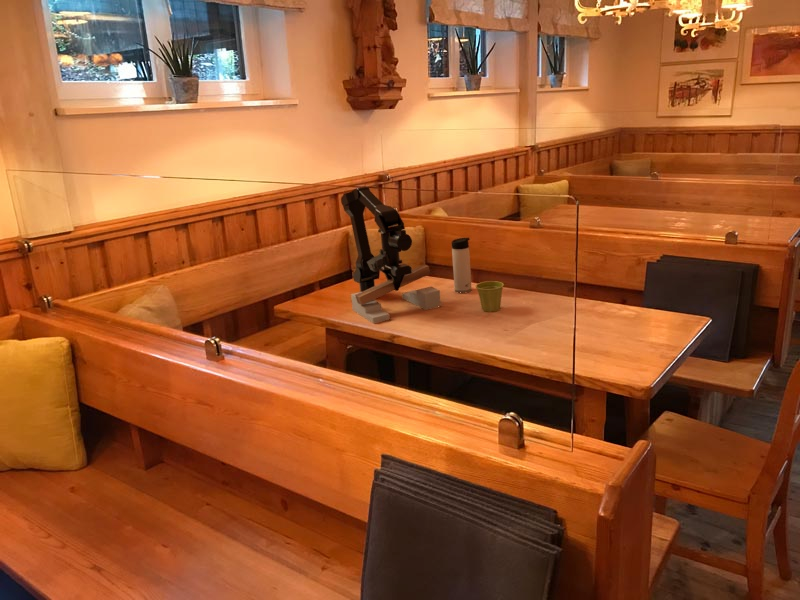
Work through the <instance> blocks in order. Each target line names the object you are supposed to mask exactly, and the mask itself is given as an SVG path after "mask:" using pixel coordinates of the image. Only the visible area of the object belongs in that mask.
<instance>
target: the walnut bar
mask: <svg viewBox="0 0 800 600" xmlns="http://www.w3.org/2000/svg"><path fill="white" fill-rule="evenodd" d="M431 274H432V273H431V271H430V266H429V265H428V264H425V263H423V264H420V265H418V266H417V267H415V268H412V273H411V274H406V275H404V278H403V280H402V282H401V285H400V287H399V289H400V288H402V287H405V286H406V285H409V284H411V283H413V282H415V281H418V280H420V279H422V278H424V277H426V276H429V275H431ZM394 291H395V288H394V284H393V279H390V280H387V279H386V280H385V281H383V282H381V283H379V284H375V286H374V287H372V288H370V289H367V290H365V291H363V292H361V293H358V292H357V293H358V294H356V295H355V296H356V299H357V302H358V303H359V304H361V305H363V304H365V303H367V302H370V301H372V300H377V299H378V298H380V297H382V296H385V295H387V294H389V293H392V292H394Z"/></svg>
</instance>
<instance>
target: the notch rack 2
mask: <svg viewBox="0 0 800 600" xmlns="http://www.w3.org/2000/svg"><path fill="white" fill-rule="evenodd" d="M401 295H402V299H403V300H406V301H407V302H409V303H411V304H413V305H415V306H416V305H417V306H416V307H418V306H419V308H420V307H421V309H422V308H423V310H424V309H425V310H424V311H429V310H428V309H430V310H433V309H437V308H439V307H438V306H441V307H442V305H441V304H442V303H441V292H440V289H437V288H436V287H433V286H428V287H423V288H419V289H414V290H410V291H409V290H408V291H405V292H402V293H401ZM436 307H437V308H436ZM432 308H433V309H432Z"/></svg>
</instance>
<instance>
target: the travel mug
mask: <svg viewBox="0 0 800 600" xmlns="http://www.w3.org/2000/svg"><path fill="white" fill-rule="evenodd" d="M470 240H471V239H470V237H460V238H455V239H453V240H452V241H451V254H452V256H451V257H452V270H453V282H454V283H453V285H454V287H453V288H454V292H455V293H456V292H458V293H457V294H466V293H465V292H468V293H470V292H472V289H473V288H472V276H471V274H472V273H471V259H470V255H471V254H470V245H469V244H470V243H469V241H470ZM469 291H470V292H469ZM460 292H461V293H460Z"/></svg>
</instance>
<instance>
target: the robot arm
mask: <svg viewBox="0 0 800 600" xmlns="http://www.w3.org/2000/svg"><path fill="white" fill-rule="evenodd" d="M340 202H341V205H342V208H343V210H344V212H345V213H346V214H347V215H348V216H349V218H350V222H351V227H352V232H353V237H354V242H355V247H356V251H357V259H356V261H355V270H354V272H353V274H352V279H353V281H354V282H355V283H357V284H359V290H360V291H359V292H363V291H365V290H367V289H370V288H372V287H374V286H376V283H375V280H379V279H380V275H381V274H380V273H383V274H384V276H385V279H386V281H387V280H390V279H393V284H394V288H395V290H394V291H395V292H397V291H399V290H400V288H401V287H400V285H401V282H402V280H403V278H404V275H406V274H411V273H412V269H413V268H412V267H411V266H410V265H409V264H407V263H403V260H402V259H401V258H400V253H402V252H407V251H408V250H410V248H411V247H412V244H413V240H412V237H411V236H410V235H409V234H407V231H406V227H405V223H404V221H403V219H402V218H401V216H400V213H399V212H398V210H397V209H395V208H394V207H393V206H391V205H386V204H384V203H383V202H382V201H381V200H380V199H379V198H378V197H377V196H376V195H375V194H374V193H373V192H372V191H371V189H370V188H369V186H361V187H357V188H355V189H353V190H352V191H348V192H344V193H343V194H342V196H341V197H340ZM365 209H368V211H370V213H371V214H372V215H373V216H374V219H373V221H374V222H375V223H376V225H377V227H378V230H377V231H378V233H379V234H380V239H381V240H380V241H381V249H379V254H377V255H375V256H374V254H373V253H372V251H371V245H370V242H369V241H370V240H369V236H368V232H367V227H366V223H365V218H364V213H365ZM399 287H400V288H399Z"/></svg>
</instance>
